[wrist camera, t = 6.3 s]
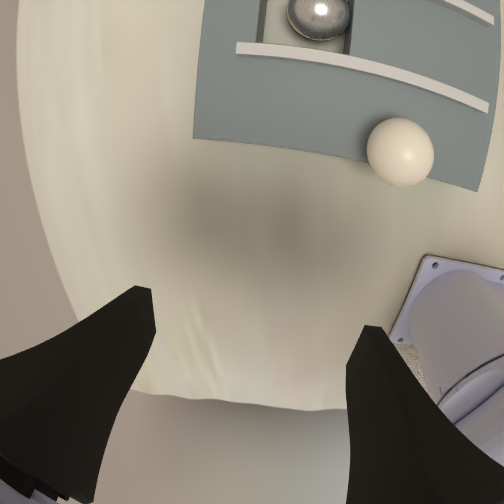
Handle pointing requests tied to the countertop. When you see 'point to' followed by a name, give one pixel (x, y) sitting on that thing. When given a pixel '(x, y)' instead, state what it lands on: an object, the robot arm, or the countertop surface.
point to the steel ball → (319, 18)
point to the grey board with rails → (356, 81)
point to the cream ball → (400, 152)
